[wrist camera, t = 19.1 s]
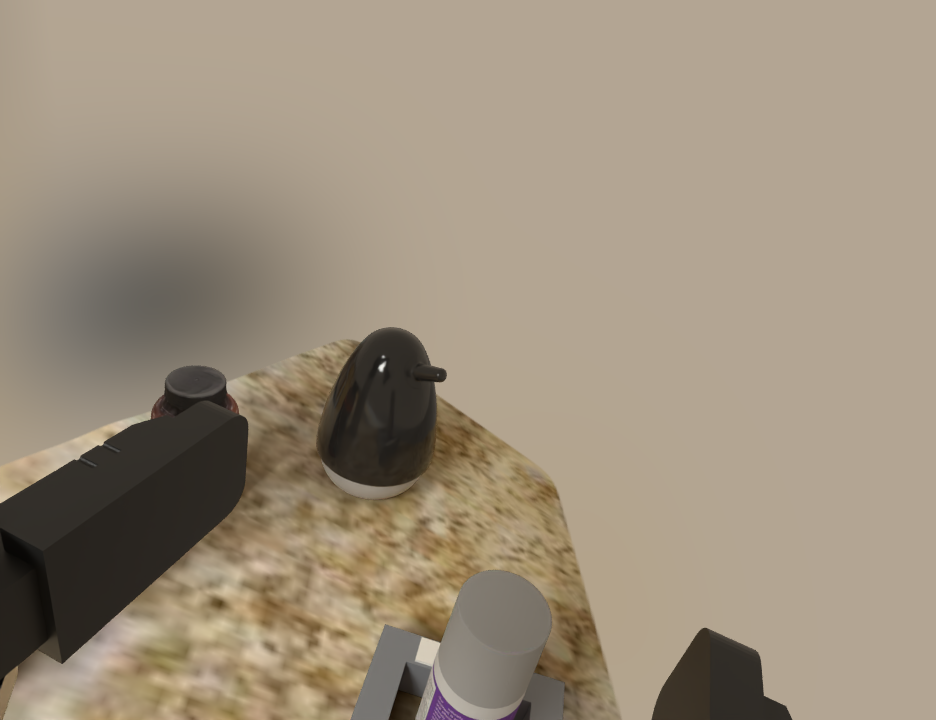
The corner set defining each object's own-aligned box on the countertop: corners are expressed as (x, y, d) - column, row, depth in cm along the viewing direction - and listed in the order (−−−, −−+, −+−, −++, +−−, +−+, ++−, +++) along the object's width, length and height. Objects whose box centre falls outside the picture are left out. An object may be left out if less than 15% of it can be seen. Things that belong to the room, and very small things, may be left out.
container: (493, 799, 34) (575, 634, 27) (421, 842, 32) (490, 673, 25) (454, 722, 38) (517, 556, 30) (385, 755, 35) (436, 583, 28)
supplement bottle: (175, 464, 51) (173, 349, 45) (246, 478, 51) (253, 366, 46) (139, 515, 46) (132, 392, 40) (219, 530, 46) (223, 411, 41)
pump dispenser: (368, 539, 49) (400, 383, 41) (287, 468, 53) (303, 317, 46) (448, 486, 56) (488, 346, 49) (372, 428, 61) (397, 293, 54)
